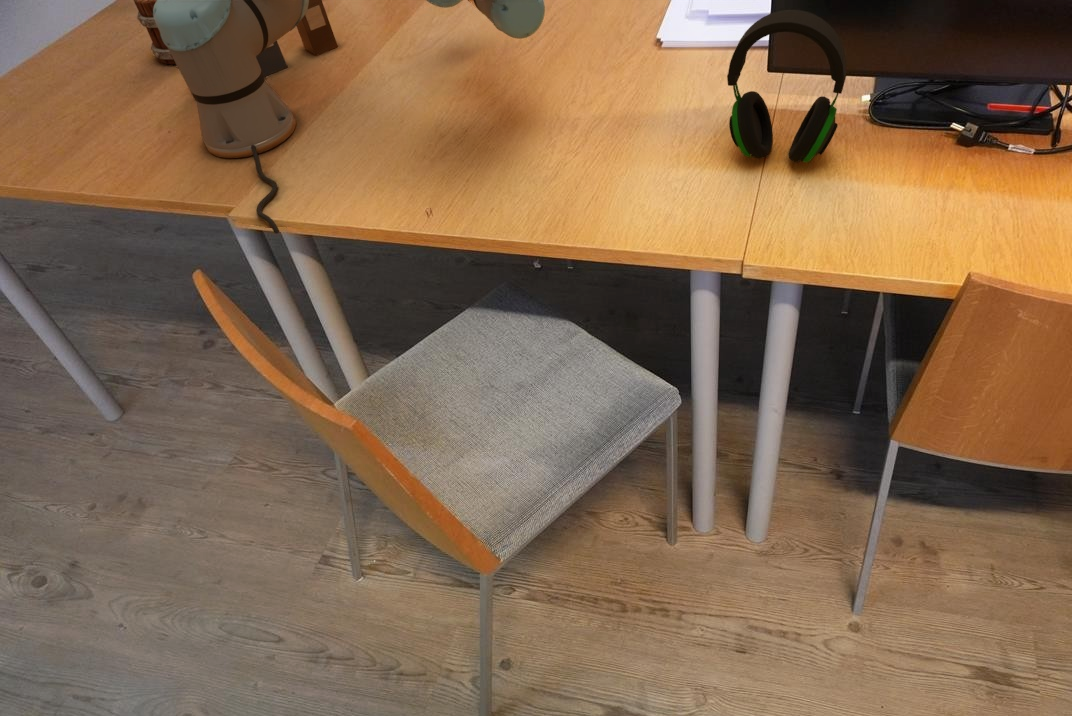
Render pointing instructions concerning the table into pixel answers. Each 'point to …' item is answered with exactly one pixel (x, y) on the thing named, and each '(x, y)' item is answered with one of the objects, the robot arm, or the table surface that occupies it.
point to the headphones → (751, 111)
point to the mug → (153, 30)
